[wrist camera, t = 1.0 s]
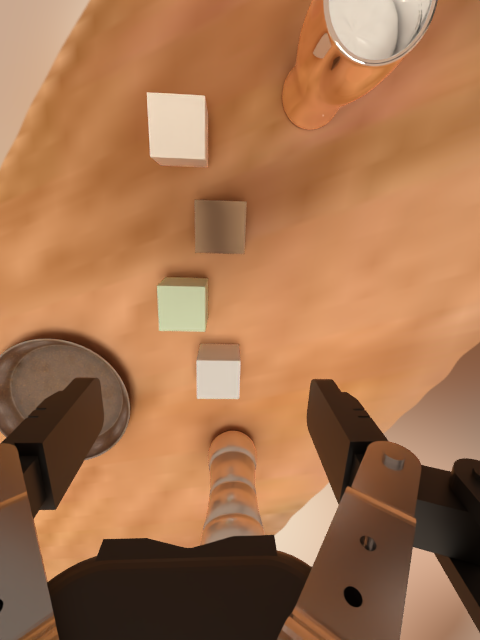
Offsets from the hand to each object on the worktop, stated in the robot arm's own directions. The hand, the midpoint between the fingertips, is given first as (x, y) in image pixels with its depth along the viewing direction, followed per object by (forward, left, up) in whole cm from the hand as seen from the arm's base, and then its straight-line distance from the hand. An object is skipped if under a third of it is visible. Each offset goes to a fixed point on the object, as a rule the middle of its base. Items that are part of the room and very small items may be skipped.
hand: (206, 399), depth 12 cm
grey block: (0, +11, -27) cm, 29 cm away
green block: (+4, +3, -27) cm, 27 cm away
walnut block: (0, -6, -27) cm, 27 cm away
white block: (+4, -14, -27) cm, 30 cm away
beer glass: (-9, -19, -27) cm, 34 cm away
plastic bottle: (-2, +24, -27) cm, 36 cm away
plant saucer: (+20, +16, -27) cm, 37 cm away
